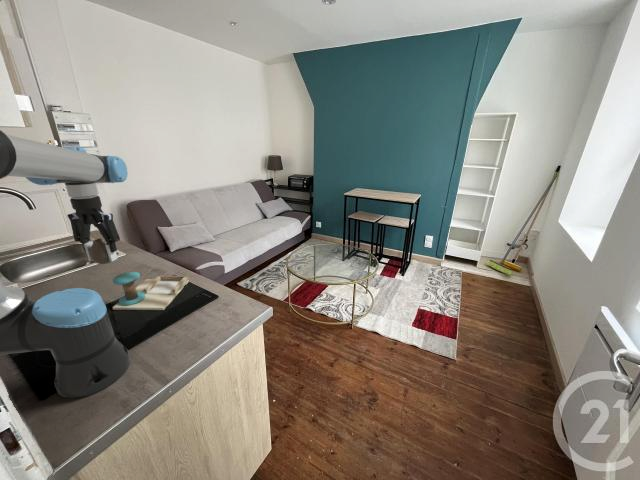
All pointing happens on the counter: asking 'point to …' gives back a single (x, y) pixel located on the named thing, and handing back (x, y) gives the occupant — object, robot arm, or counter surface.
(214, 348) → the counter surface
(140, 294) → the jig board
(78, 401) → the counter surface
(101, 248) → the vase
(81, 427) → the counter surface
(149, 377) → the counter surface
